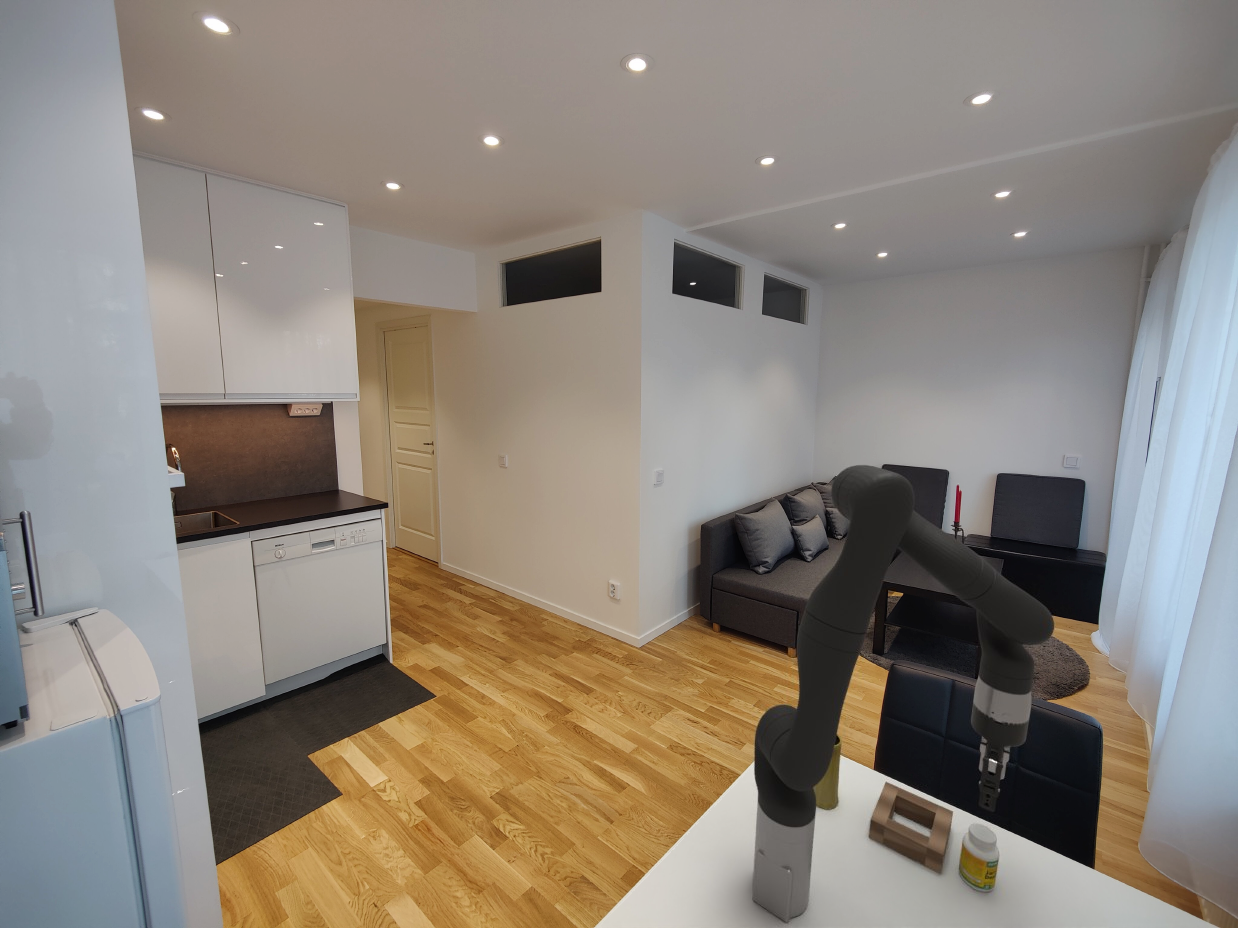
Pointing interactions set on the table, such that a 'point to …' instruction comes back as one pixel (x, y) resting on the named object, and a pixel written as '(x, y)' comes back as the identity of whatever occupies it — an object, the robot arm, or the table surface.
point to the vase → (830, 781)
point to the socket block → (906, 838)
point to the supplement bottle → (979, 858)
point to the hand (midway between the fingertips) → (988, 791)
